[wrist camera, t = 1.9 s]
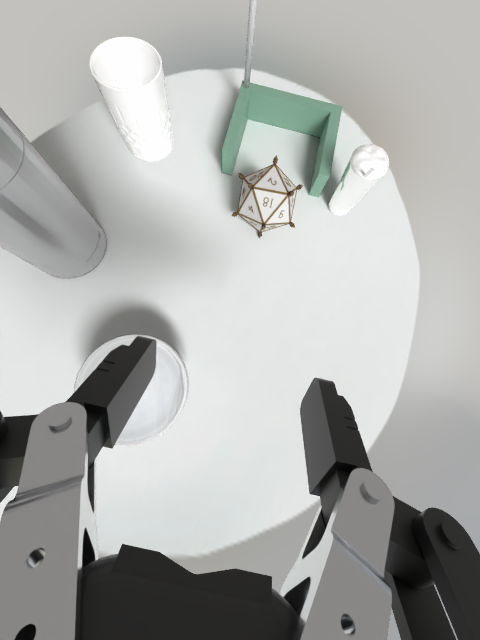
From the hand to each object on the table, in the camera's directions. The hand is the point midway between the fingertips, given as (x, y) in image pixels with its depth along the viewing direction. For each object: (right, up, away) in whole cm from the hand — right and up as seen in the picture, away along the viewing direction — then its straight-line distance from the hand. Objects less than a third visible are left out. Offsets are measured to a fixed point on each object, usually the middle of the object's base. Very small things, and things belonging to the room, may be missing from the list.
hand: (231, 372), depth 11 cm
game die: (+4, +17, +25) cm, 31 cm away
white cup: (-13, +29, +27) cm, 41 cm away
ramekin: (-11, -6, +19) cm, 23 cm away
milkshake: (+15, +19, +26) cm, 36 cm away
